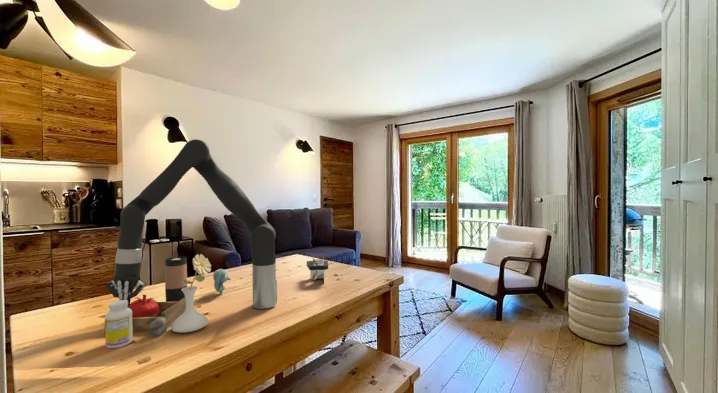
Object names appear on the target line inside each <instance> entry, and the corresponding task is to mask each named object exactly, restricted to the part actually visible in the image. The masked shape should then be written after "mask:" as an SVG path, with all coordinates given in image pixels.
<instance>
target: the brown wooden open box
mask: <svg viewBox="0 0 718 393" xmlns="http://www.w3.org/2000/svg"><path fill="white" fill-rule="evenodd" d="M156 302H157V304H158V305H159V312H158V314H157V315H160V316H156V317H134V318H132V326H133V333H141V332H142V333H143V332H148V333H149V338H160V337H161V336H162V335H164V334H165V333H166V332H167V330H168V329H169V328H171V325H172V323H173V322H174V321H175V320H176V319H177V318H178V317H179V316H180V315H182V314H183V313H184V311H185V310H186V298H185V297H184V298H183V299H181V300H180V301H174V302H166V301H156Z"/></svg>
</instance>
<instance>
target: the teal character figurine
mask: <svg viewBox="0 0 718 393" xmlns="http://www.w3.org/2000/svg"><path fill="white" fill-rule="evenodd" d="M212 277H213V281H214V283H213V286H214V289H215V291H216V292H217V293H218V296H223V293H224V290H225V289H226V286H225V285H224V283H226V282H227V281H230V280H231V277H230V276H228V273H227V270H225V269H223V268H219V269H217V270H215V271H214V272H213V275H212Z"/></svg>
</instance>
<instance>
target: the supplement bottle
mask: <svg viewBox="0 0 718 393" xmlns="http://www.w3.org/2000/svg"><path fill="white" fill-rule="evenodd" d="M127 306H128V300H120V299H119V300H116V301H112V302H109V303H108V309H109V311H108V312H106V313H105V315H104V316H105V317H104V334H105V347H106V348H108V349H118V348H122V347H125V346H127V345H129V344H130V343H132V341H133V337H134V336H133V335H134V334H133V333H134V332H133V326H132V310H131V309H130V308H127Z"/></svg>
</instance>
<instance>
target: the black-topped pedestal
mask: <svg viewBox="0 0 718 393" xmlns="http://www.w3.org/2000/svg"><path fill="white" fill-rule="evenodd" d="M306 267H307V268H308V270H309V271H310V279H311V280H312V281H313V282H314V281H316V280H318V279H325V271H326V270H328V269H329V261H328V260H325V258H320V259H319V258H317V259H315V256H314V255H313V256H312V260H307V261H306Z"/></svg>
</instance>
